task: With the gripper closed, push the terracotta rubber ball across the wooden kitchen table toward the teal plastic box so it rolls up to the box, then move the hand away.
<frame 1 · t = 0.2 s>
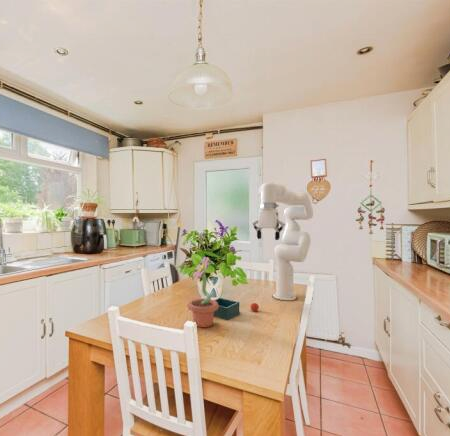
hand: (268, 239, 145), 36 cm above the table, tool pointing down, fingers open, 9 cm apart
ball: (254, 310, 140), on the table
decorative flower: (202, 324, 123), on the table
box: (223, 313, 136), on the table
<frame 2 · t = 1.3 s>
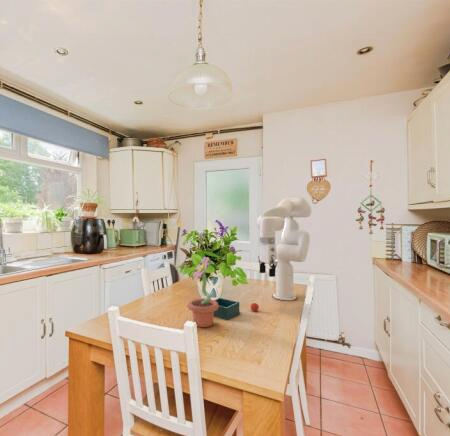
hand: (267, 274, 142), 18 cm above the table, tool pointing down, fingers open, 8 cm apart
nothing on the table moved.
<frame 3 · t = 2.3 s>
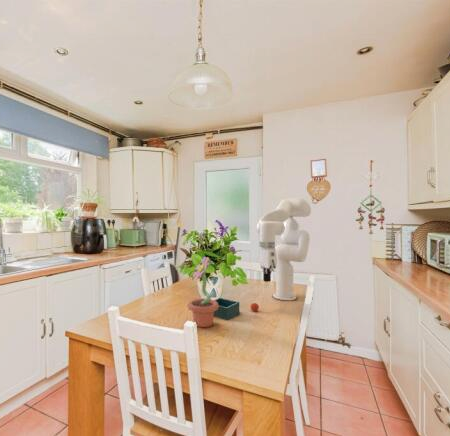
hand: (266, 281, 141), 15 cm above the table, tool pointing down, fingers closed
nothing on the table moved.
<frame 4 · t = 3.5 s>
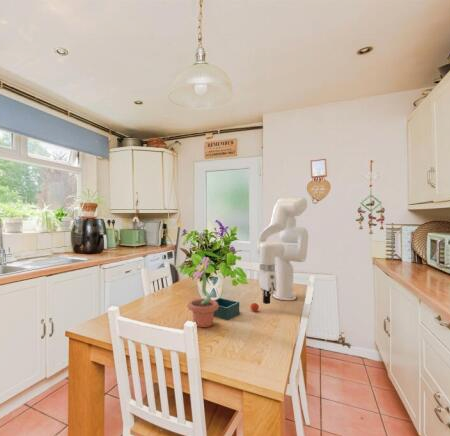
hand: (266, 303, 142), 4 cm above the table, tool pointing down, fingers closed
nothing on the table moved.
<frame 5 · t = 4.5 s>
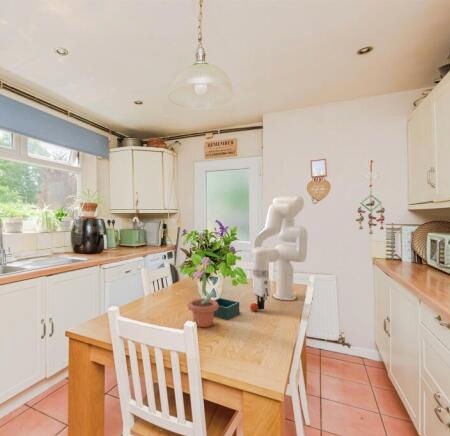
hand: (260, 308, 141), 1 cm above the table, tool pointing down, fingers closed
ball: (254, 310, 140), on the table, touching gripper
everything else where it was.
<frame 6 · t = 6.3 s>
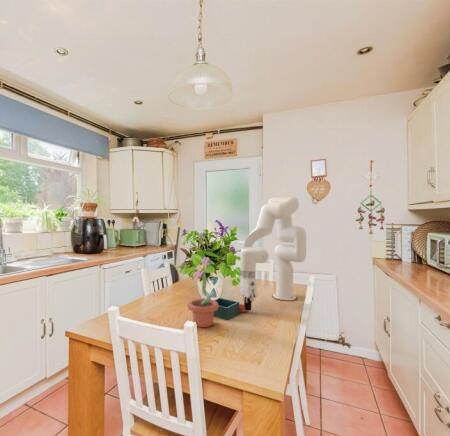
hand: (247, 309, 139), 1 cm above the table, tool pointing down, fingers closed
ball: (242, 311, 139), on the table, tilted 17°, touching gripper
everything else where it was.
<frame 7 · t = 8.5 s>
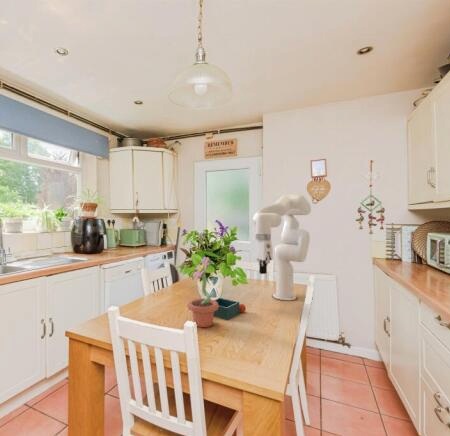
hand: (263, 273, 140), 19 cm above the table, tool pointing down, fingers closed
ball: (242, 311, 139), on the table, tilted 13°
everything else where it was.
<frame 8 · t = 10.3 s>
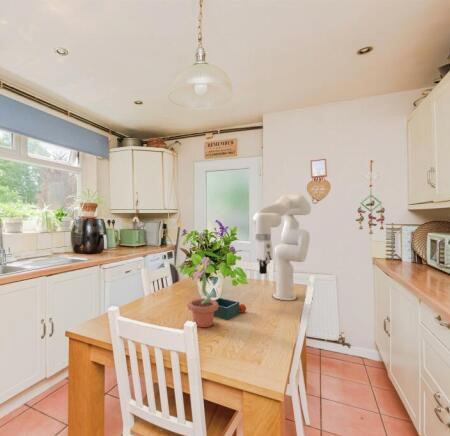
hand: (263, 273, 140), 19 cm above the table, tool pointing down, fingers closed
nothing on the table moved.
at the end: ball 10.3 cm from the box (horizontally); ball moved 6.9 cm from its start; ball on the table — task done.
